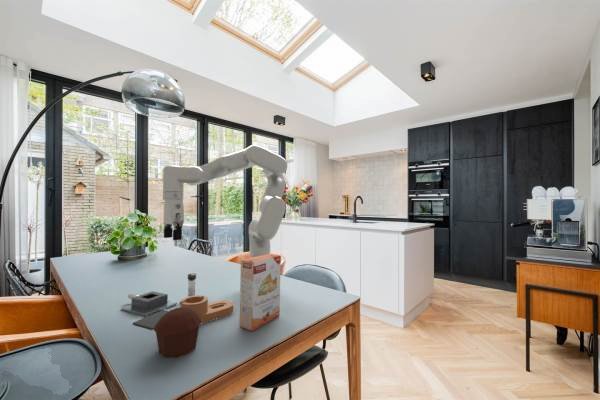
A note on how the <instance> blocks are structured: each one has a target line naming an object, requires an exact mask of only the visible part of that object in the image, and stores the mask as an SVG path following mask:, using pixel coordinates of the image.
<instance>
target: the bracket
mask: <svg viewBox="0 0 600 400" xmlns="http://www.w3.org/2000/svg"><path fill="white" fill-rule="evenodd" d="M179 302H180V305H179V306H180V307H179V308H181V307H185V308H189V309H192V310H193V311H195V312H196V313H197V314H198V315H199V316H200V318H201V323H203V324H205V323H204V322H206V323H208V322H207V321H209V322H211V321H210V320H212V321H214V320H213V319H215V320H217V319H216V318H218V319H221V318H224V317H226V315H227V316H230V315H232V314H233V313H234V302H233V301H231V300H216V301H213V302H210V303H209V298H208V296H205V295H196V294H195V296H189V297H188V296H187V297H184V298H182V299H181V300H180V301H179ZM232 312H233V313H232ZM231 313H232V314H231ZM229 314H230V315H229ZM223 316H224V317H223ZM220 317H221V318H220Z"/></svg>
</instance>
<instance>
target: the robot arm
mask: <svg viewBox="0 0 600 400" xmlns="http://www.w3.org/2000/svg"><path fill="white" fill-rule="evenodd" d="M255 166H257V167H259V168H262V172H263V173H264V174H265V175H264V176H266V179H267V185H266V188H265V191H264V193H263V194H262V195H263V196H262V197H261V200H260V203H259V205H258V211H259V213H260V214H261V215H260V217H257V218H254V219H253V220H251V222H250V223H249V225H248V239H249V256H248V258H252V257H257V256H261V255H265V254H271V240H273V238H275V237H276V235H277V233H278V231H279V228H280V226H281V223H282V220H283V218H284V215H285V212H286V203H285V201H284V199H283V196H284V192H285V190H286V180H285V177H284V174H285V173H286V172H287V170H288V163H287V161H286V159H285V158H284V157H282V155H279V154H277V153H275V152H273V151H272V150H269V149H267V148H264V147H262V146H260V145H257V144H252V145H250V146H248V147H247V148H244V149H241V150H238V151H235V152H231V153H228V154H224V155H221V156H219V157H217V158H216V159H215V160H213V161H210V162H208V163H205V164H202V165H199V166H196V165H191V166H189V165H187V166H179V165H165V166H164V167H163V170H162V171H163V172H162V173H163V174H162V175H163V176H162V201H163V200H164V202H163V203H164V204H163V238H164V239H169V238H172V240H173V241H181V240H183V225H184V223H185V209H184V184H187V185H189V186H198V185H200V184H204V183H207V182H209V181H212V180H215V179H218V178H223V177H226V176H229V175H232V174H235V173H237V172H241V171H243V170H244V171H245V170H247V169H250V168H253V167H255Z"/></svg>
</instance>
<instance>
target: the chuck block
mask: <svg viewBox="0 0 600 400" xmlns="http://www.w3.org/2000/svg"><path fill="white" fill-rule="evenodd" d="M168 296H169V295H168V294H167V293H162V292H158V291H153V290H152V291H148V292H147V293H143V294H140V295H137V294H132V293H130V294H128V295H127V298H128V299H130V300H131V303H130V304H127V305H124V306H121V307H120V310H121V311H124V312H127V313H131V314H134V315H135V314H136V315H138V316H139V315H140V316H142V317H146V316H147V317H148V316H150V315H152V314H155V313H157V312H160V311H162V310H164V309H166V310H168V309H170V308H173V307H175V306H177V305H178V302H177V301H173V300H169V299H168V298H169V297H168ZM176 304H177V305H176ZM174 305H175V306H174ZM172 306H173V307H172ZM169 307H170V308H169ZM167 308H168V309H167Z"/></svg>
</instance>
